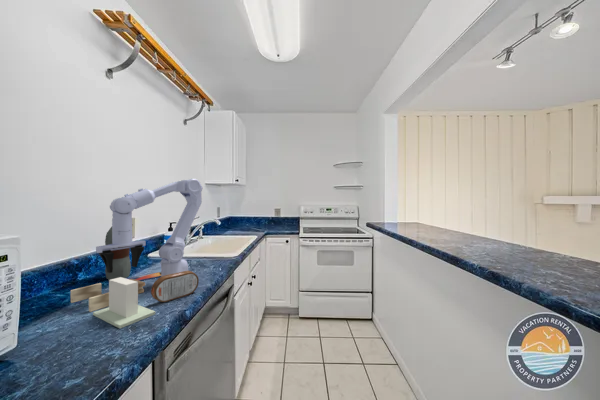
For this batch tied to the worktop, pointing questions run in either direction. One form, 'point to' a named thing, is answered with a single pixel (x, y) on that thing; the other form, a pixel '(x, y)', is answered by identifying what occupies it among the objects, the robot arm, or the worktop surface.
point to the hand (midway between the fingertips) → (122, 269)
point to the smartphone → (146, 276)
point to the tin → (174, 286)
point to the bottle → (118, 260)
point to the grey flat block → (123, 296)
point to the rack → (91, 296)
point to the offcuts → (139, 286)
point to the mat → (123, 321)
